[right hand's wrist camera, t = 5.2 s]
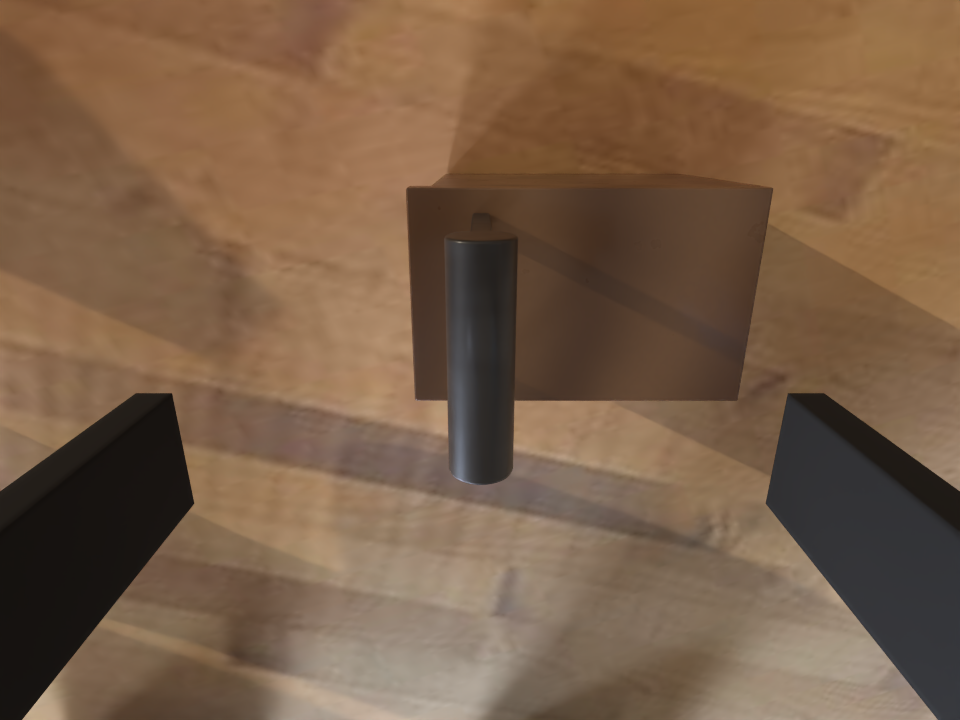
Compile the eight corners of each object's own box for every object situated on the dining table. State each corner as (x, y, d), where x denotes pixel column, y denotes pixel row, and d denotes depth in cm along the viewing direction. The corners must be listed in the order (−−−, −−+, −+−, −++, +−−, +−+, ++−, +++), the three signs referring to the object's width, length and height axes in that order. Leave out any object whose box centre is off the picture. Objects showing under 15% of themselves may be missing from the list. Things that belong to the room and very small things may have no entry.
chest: (448, 325, 37) (436, 391, 27) (445, 174, 34) (430, 185, 24) (662, 325, 37) (728, 391, 27) (679, 173, 34) (762, 185, 24)
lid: (417, 392, 27) (387, 508, 18) (408, 185, 24) (367, 209, 15) (729, 392, 27) (845, 508, 18) (762, 186, 24) (923, 209, 15)
